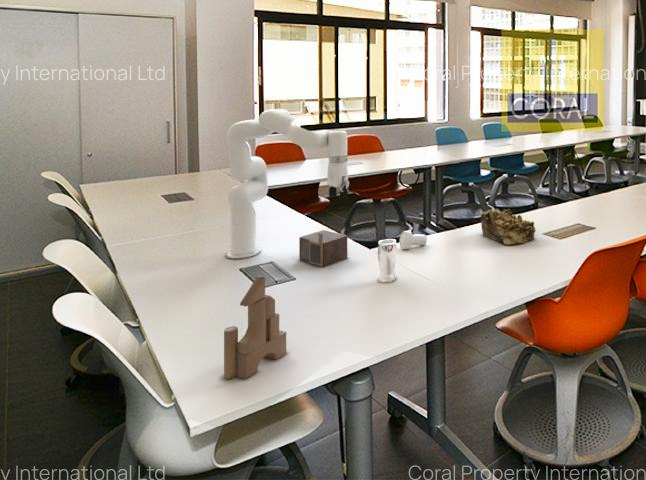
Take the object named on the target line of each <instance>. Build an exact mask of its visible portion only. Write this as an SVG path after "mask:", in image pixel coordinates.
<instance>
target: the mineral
mask: <svg viewBox="0 0 646 480" xmlns="http://www.w3.org/2000/svg"><path fill="white" fill-rule="evenodd" d="M480 222H481V223H480V225H481V231H482V236H484V237H486V238H489V239H491V240H493V241H495V242H499V243H500V244H503V245H507V246H508V245H516V244H523V243H527V242H529V241H532V240H535V232H536V227H535V221H530V220H527V219H523V216H521V214H517V215H516V214H515V213H514V214H513V211H511V209H510V208H508V209H503V210H502V211H501V210H500V209H499V208H496V209H493V210H492V209H488V210H487V211H481V214H480Z"/></svg>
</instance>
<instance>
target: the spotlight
mask: <svg viewBox="0 0 646 480" xmlns="http://www.w3.org/2000/svg"><path fill="white" fill-rule="evenodd" d="M427 241H428V239H427V236H426V234H413V232H412V231H411V230H403V231H402V232H401V233H400V235H399V247H400V249H402V250H410V249H411V248H412V246H426V244H427Z"/></svg>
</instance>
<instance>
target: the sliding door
mask: <svg viewBox="0 0 646 480" xmlns="http://www.w3.org/2000/svg"><path fill="white" fill-rule="evenodd" d="M308 264H312V265H314V266H319V267H322V266H323V233H318V242H315V241H311V240H309V263H308Z"/></svg>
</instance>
